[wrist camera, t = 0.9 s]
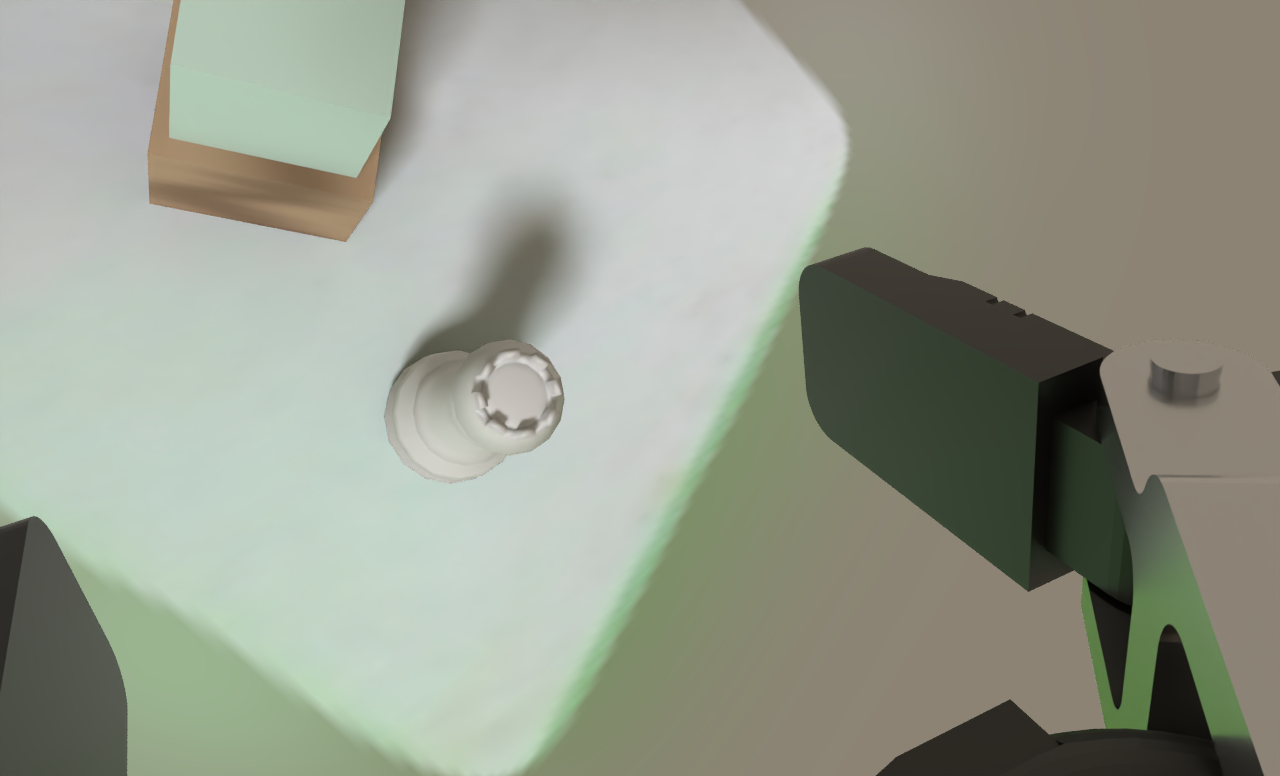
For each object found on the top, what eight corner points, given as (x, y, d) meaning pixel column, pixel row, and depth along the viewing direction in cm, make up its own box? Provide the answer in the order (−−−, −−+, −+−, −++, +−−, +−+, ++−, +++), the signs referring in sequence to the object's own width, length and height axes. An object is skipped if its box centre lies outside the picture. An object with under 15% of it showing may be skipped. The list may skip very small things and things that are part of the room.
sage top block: (168, 137, 28) (170, 64, 23) (196, -32, 29) (202, -135, 24) (356, 178, 30) (390, 117, 25) (376, 18, 31) (413, -68, 26)
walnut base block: (149, 203, 32) (147, 153, 28) (179, 25, 33) (182, -52, 29) (345, 242, 35) (373, 201, 30) (368, 75, 36) (398, 11, 31)
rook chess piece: (447, 327, 36) (519, 279, 28) (535, 420, 37) (626, 396, 29) (352, 416, 34) (403, 389, 27) (447, 511, 35) (520, 510, 28)
